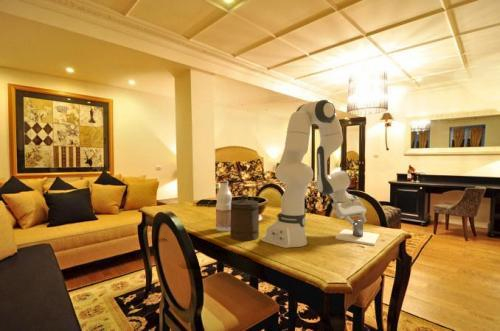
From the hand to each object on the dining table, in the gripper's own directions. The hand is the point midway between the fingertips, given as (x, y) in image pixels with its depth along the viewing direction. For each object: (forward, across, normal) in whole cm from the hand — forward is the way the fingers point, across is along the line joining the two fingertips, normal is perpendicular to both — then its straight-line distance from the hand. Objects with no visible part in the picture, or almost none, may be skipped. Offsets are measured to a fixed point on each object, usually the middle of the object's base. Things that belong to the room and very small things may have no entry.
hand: (359, 222), depth 129 cm
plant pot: (-22, -6, +33) cm, 40 cm away
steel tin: (+4, 0, +5) cm, 7 cm away
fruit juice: (-28, -54, +40) cm, 73 cm away
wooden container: (-16, -50, +28) cm, 60 cm away
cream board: (+5, 0, +6) cm, 8 cm away
